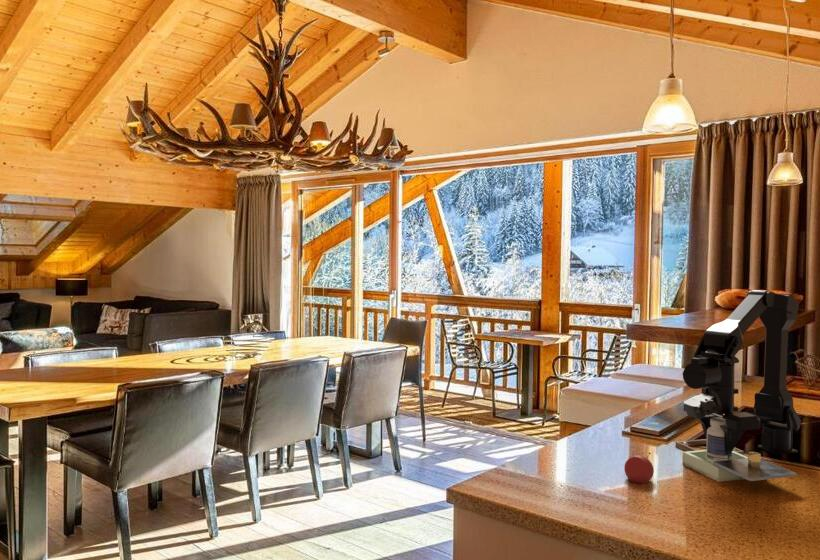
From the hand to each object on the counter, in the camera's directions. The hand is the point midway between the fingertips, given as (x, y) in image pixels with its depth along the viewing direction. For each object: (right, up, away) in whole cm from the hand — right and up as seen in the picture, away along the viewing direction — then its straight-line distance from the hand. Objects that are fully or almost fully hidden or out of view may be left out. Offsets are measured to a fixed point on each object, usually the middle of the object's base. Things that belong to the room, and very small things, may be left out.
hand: (719, 450), depth 151 cm
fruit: (-20, -5, -6) cm, 22 cm away
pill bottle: (0, -3, 0) cm, 3 cm away
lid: (+3, -2, -10) cm, 11 cm away
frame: (+4, -4, +14) cm, 14 cm away
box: (0, -5, -1) cm, 5 cm away
